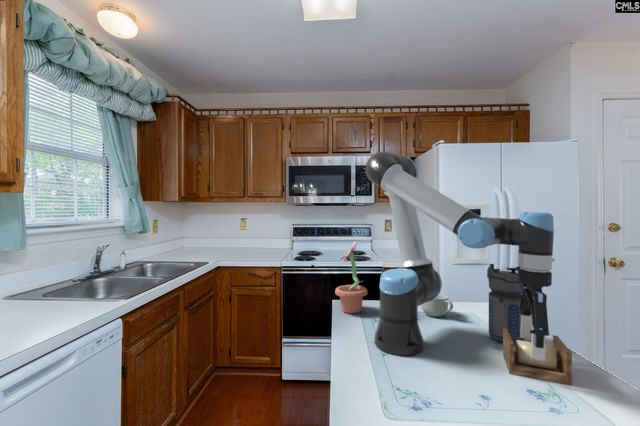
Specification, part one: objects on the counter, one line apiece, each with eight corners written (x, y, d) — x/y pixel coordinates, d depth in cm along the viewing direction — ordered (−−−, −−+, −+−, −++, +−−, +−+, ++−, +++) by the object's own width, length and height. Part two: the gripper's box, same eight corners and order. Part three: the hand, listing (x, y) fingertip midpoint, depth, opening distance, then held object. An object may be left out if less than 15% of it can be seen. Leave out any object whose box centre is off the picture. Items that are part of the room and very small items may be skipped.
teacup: (415, 311, 126) (415, 292, 126) (436, 309, 129) (436, 290, 129) (437, 323, 113) (437, 302, 113) (460, 320, 116) (460, 299, 116)
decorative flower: (337, 304, 136) (337, 238, 136) (367, 305, 134) (367, 239, 134) (333, 315, 121) (333, 242, 121) (367, 317, 119) (367, 242, 119)
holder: (509, 373, 78) (509, 343, 78) (502, 355, 88) (503, 328, 88) (571, 385, 73) (571, 353, 73) (557, 364, 83) (557, 335, 83)
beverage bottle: (539, 347, 93) (539, 267, 93) (494, 344, 95) (494, 266, 95) (522, 333, 103) (522, 262, 103) (481, 331, 105) (481, 261, 105)
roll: (517, 368, 81) (519, 351, 78) (513, 350, 86) (515, 335, 83) (555, 375, 77) (558, 358, 75) (549, 356, 82) (551, 340, 80)
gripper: (567, 281, 67) (564, 374, 68) (539, 262, 90) (536, 333, 90) (528, 277, 71) (525, 366, 71) (510, 260, 93) (507, 328, 93)
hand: (531, 347), depth 81 cm, fingers open, 12 cm apart
